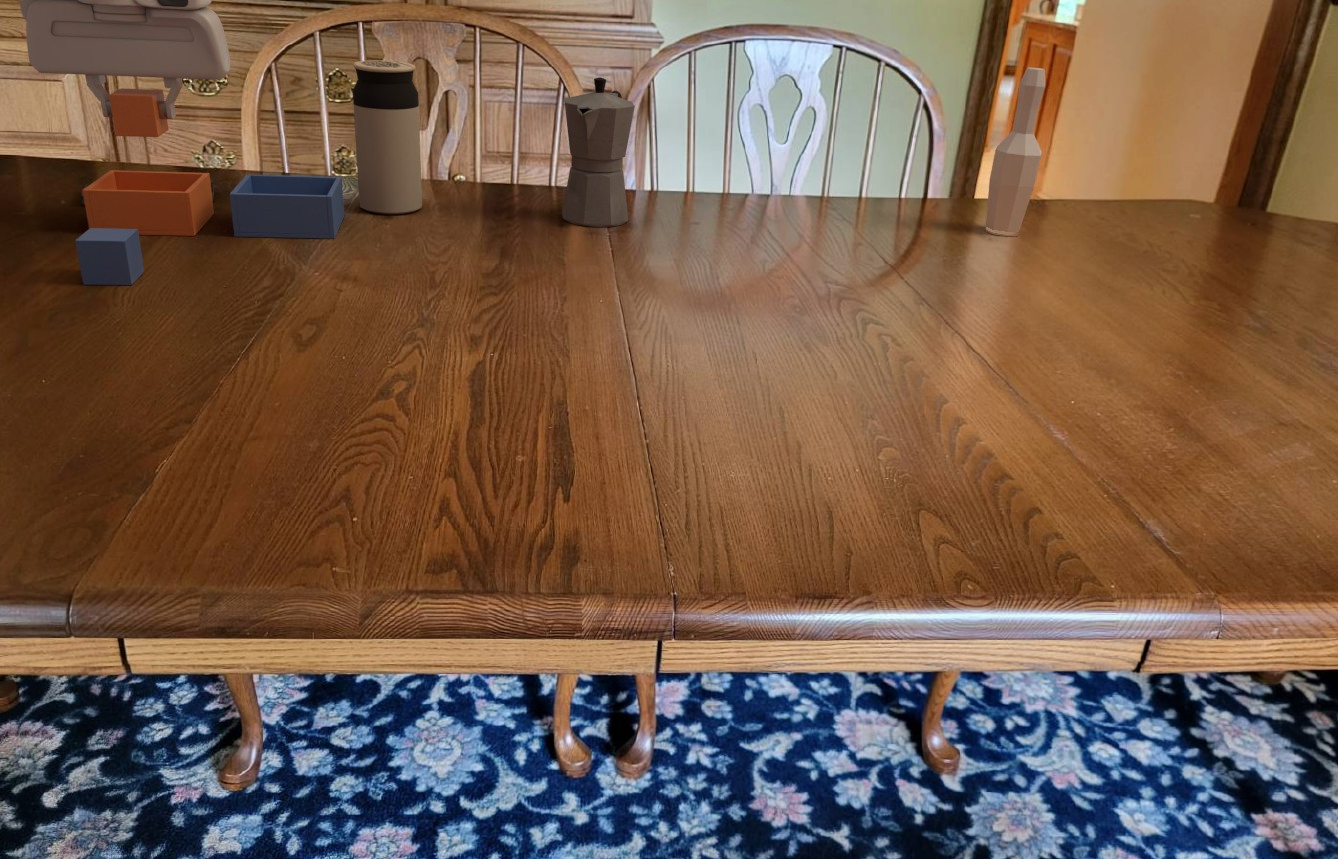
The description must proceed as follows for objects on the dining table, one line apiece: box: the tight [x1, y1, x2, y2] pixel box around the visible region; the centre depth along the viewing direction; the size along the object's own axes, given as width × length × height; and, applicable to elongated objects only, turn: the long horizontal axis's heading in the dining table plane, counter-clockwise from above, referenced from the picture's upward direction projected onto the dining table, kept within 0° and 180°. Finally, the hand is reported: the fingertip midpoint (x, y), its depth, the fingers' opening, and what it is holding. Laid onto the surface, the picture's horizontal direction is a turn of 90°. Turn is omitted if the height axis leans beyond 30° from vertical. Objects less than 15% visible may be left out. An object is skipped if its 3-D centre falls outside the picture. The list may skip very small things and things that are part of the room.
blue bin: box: [229, 173, 345, 240], centre depth 126 cm, size 11×10×5 cm
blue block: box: [75, 228, 145, 286], centre depth 105 cm, size 4×4×4 cm
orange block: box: [108, 87, 169, 138], centre depth 119 cm, size 4×4×4 cm
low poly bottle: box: [985, 67, 1046, 237], centre depth 144 cm, size 6×6×22 cm
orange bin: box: [82, 169, 215, 237], centre depth 124 cm, size 11×10×5 cm
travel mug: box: [352, 59, 423, 216], centre depth 134 cm, size 8×8×18 cm
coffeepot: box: [561, 77, 636, 228], centre depth 137 cm, size 15×9×18 cm, turn 165°
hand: (140, 117), depth 119 cm, fingers closed on orange block, 4 cm apart
